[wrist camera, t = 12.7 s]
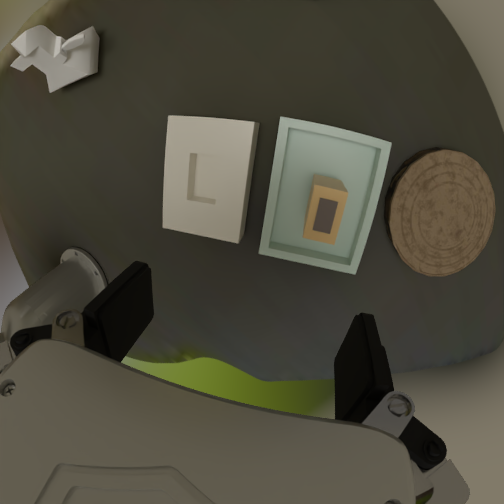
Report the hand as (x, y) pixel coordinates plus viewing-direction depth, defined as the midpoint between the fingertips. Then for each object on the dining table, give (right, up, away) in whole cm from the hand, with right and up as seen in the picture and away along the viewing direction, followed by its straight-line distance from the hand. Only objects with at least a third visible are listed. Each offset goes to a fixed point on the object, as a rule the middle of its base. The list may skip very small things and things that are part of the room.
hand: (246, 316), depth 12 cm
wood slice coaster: (+24, +8, +17) cm, 30 cm away
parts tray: (+8, +9, +19) cm, 23 cm away
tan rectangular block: (+8, +9, +19) cm, 23 cm away
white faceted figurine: (-26, +32, +16) cm, 44 cm away
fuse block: (-5, +12, +21) cm, 25 cm away
